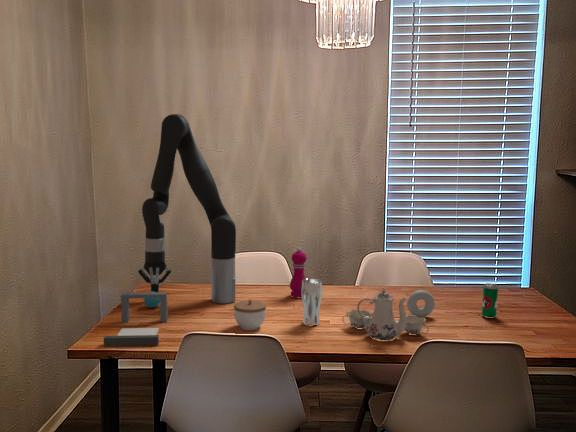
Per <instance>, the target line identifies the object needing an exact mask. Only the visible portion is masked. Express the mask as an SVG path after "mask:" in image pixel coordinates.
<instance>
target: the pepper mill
mask: <svg viewBox="0 0 576 432" xmlns="http://www.w3.org/2000/svg"><path fill="white" fill-rule="evenodd" d="M307 259H308V258H307V255H306V253H305V252H303V251H302V248H301V247H297V249H296V251H294V252H293V253H292V255H291V261H292V262H293V263H292V268H293V274H292V278H291V280H290V282H289V288H290V290H291V291H290V297H291V296H293V297H302V280H304V279H307V278H306V276H305V268H306V263H305V262H307ZM293 297H292V298H293Z"/></svg>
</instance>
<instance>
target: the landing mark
mask: <svg viewBox="0 0 576 432" xmlns="http://www.w3.org/2000/svg"><path fill="white" fill-rule="evenodd" d="M159 329H160V328H159V327H138V328H137V327H136V328H135V327H134V328H133V327H131V328H129V327H128V328H127V327H126V328H123V327H122V328H121V329H120V331H119V332H118V334H116V336H132V335H158V332H159Z"/></svg>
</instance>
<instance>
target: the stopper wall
mask: <svg viewBox="0 0 576 432" xmlns="http://www.w3.org/2000/svg"><path fill="white" fill-rule="evenodd" d="M159 344H160V335H159V334H156V335H132V336H117V335H104V337H103V347H125V346H126V347H128V346H129V347H136V346H138V347H139V346H142V347H143V346H144V347H145V346H159Z"/></svg>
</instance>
